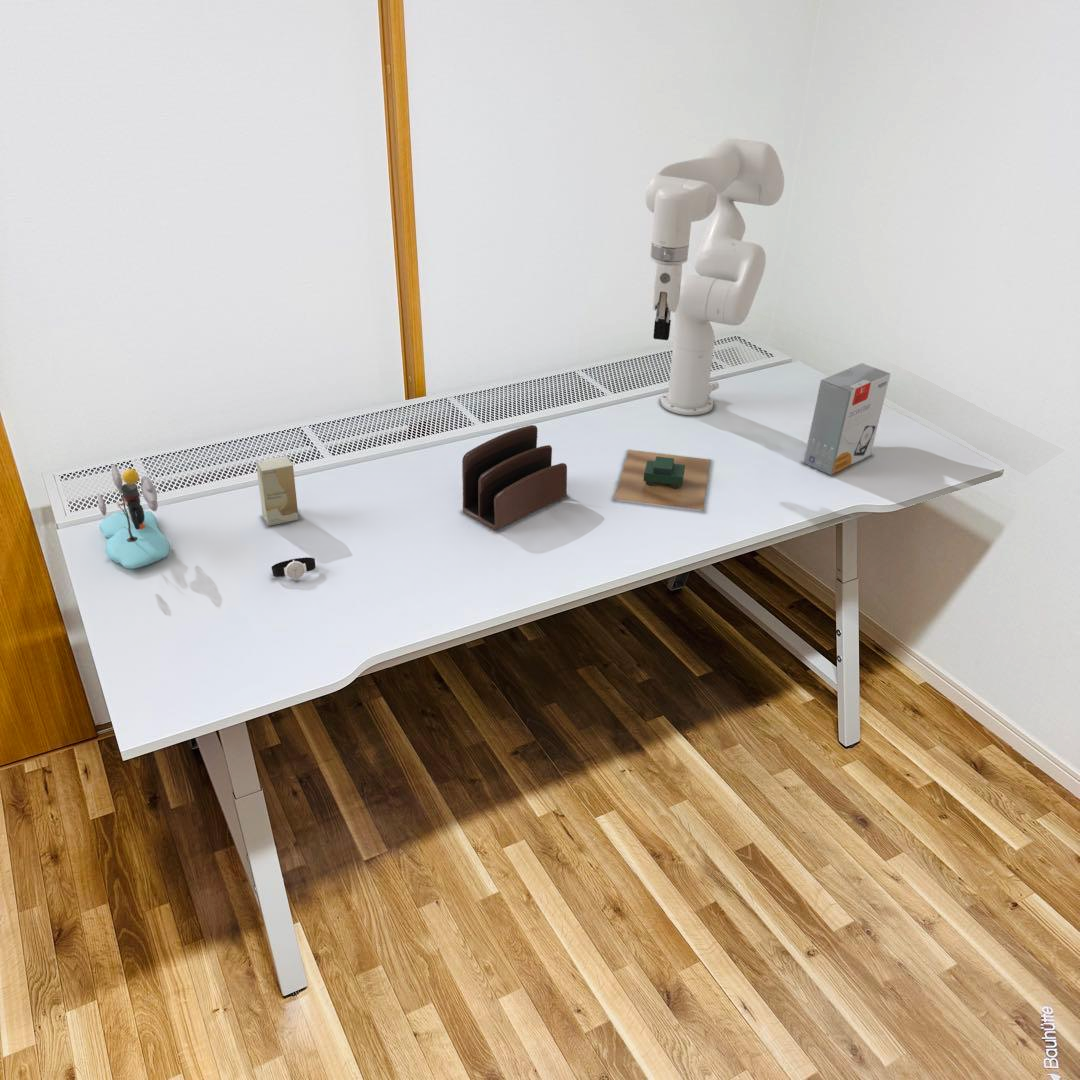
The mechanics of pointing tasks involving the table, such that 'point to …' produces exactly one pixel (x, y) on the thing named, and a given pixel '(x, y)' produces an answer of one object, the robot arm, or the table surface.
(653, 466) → the green box with feet
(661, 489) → the wooden board
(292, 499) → the cosmetic box
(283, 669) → the table surface
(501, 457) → the letter holder
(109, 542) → the winged figurine
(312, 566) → the watch
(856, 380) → the hard drive box
